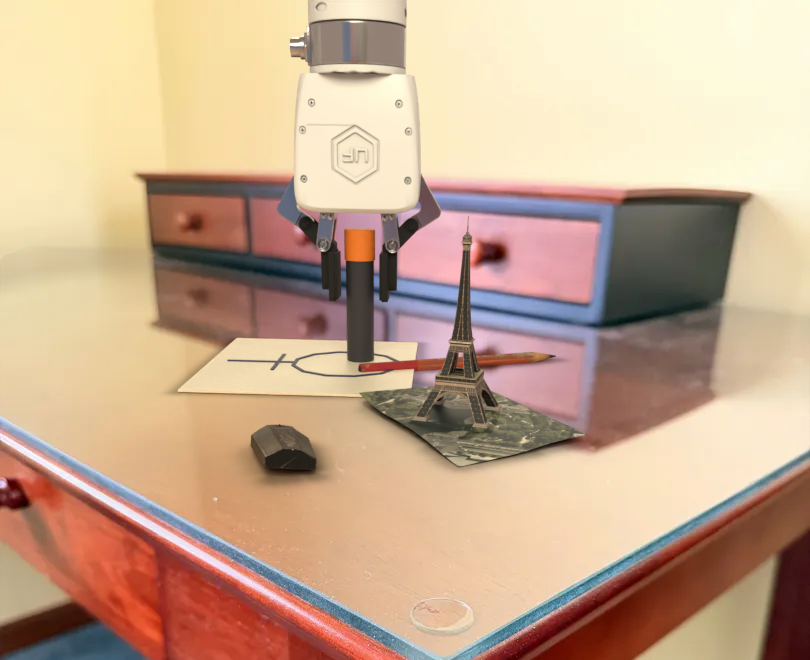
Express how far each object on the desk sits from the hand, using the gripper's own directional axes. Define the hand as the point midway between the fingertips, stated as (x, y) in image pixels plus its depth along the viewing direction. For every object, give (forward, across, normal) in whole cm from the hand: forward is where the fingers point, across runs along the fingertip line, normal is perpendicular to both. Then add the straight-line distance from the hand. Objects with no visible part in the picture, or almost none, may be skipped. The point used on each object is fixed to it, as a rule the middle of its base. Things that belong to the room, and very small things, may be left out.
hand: (359, 297), depth 71 cm
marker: (+5, 0, 0) cm, 5 cm away
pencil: (+6, +9, -1) cm, 11 cm away
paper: (+6, -4, -2) cm, 7 cm away
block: (+6, -2, -27) cm, 28 cm away
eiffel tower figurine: (+6, +9, -18) cm, 21 cm away
